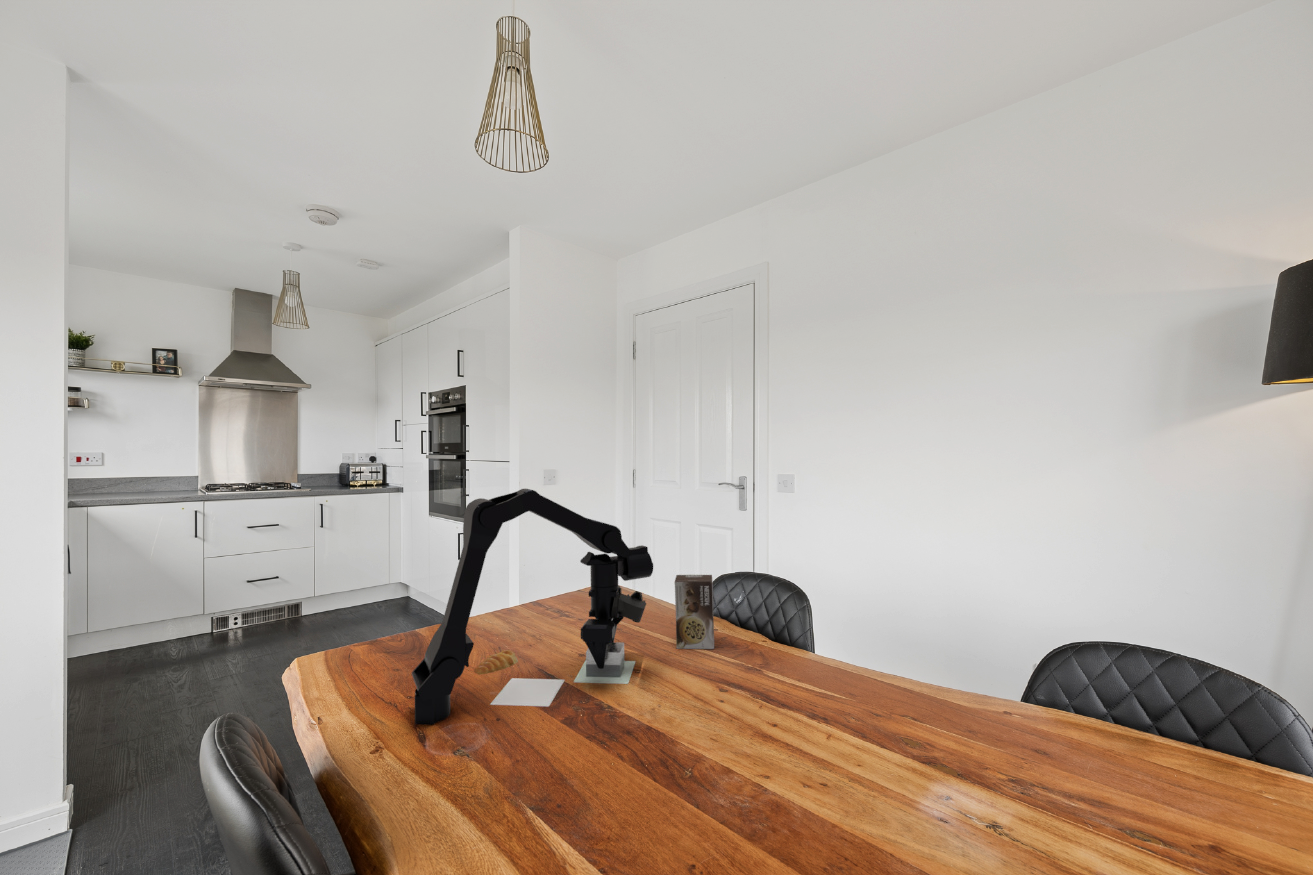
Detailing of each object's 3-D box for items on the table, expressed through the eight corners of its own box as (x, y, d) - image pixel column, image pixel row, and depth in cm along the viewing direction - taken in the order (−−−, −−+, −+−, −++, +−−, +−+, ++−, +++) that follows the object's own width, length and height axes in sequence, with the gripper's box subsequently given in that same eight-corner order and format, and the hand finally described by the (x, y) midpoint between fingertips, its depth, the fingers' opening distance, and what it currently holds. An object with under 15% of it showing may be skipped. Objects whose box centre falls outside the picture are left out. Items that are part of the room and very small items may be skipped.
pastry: (487, 685, 111) (486, 666, 111) (465, 678, 115) (465, 660, 115) (521, 669, 119) (521, 651, 119) (500, 662, 123) (500, 645, 123)
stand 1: (548, 714, 98) (548, 706, 98) (490, 712, 100) (489, 704, 100) (564, 687, 109) (564, 679, 109) (511, 685, 110) (511, 678, 110)
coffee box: (714, 639, 134) (713, 574, 134) (714, 649, 128) (713, 580, 128) (677, 639, 135) (676, 573, 135) (675, 649, 129) (674, 580, 129)
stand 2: (628, 691, 107) (628, 683, 107) (573, 689, 108) (573, 682, 108) (635, 667, 118) (635, 661, 118) (585, 666, 119) (585, 659, 119)
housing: (620, 677, 110) (619, 652, 110) (586, 676, 111) (585, 651, 111) (624, 666, 116) (624, 642, 116) (591, 665, 116) (591, 641, 116)
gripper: (637, 597, 103) (638, 679, 103) (648, 573, 122) (649, 643, 122) (579, 596, 104) (580, 678, 104) (598, 572, 123) (599, 642, 123)
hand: (605, 659), depth 113 cm, fingers open, 9 cm apart
